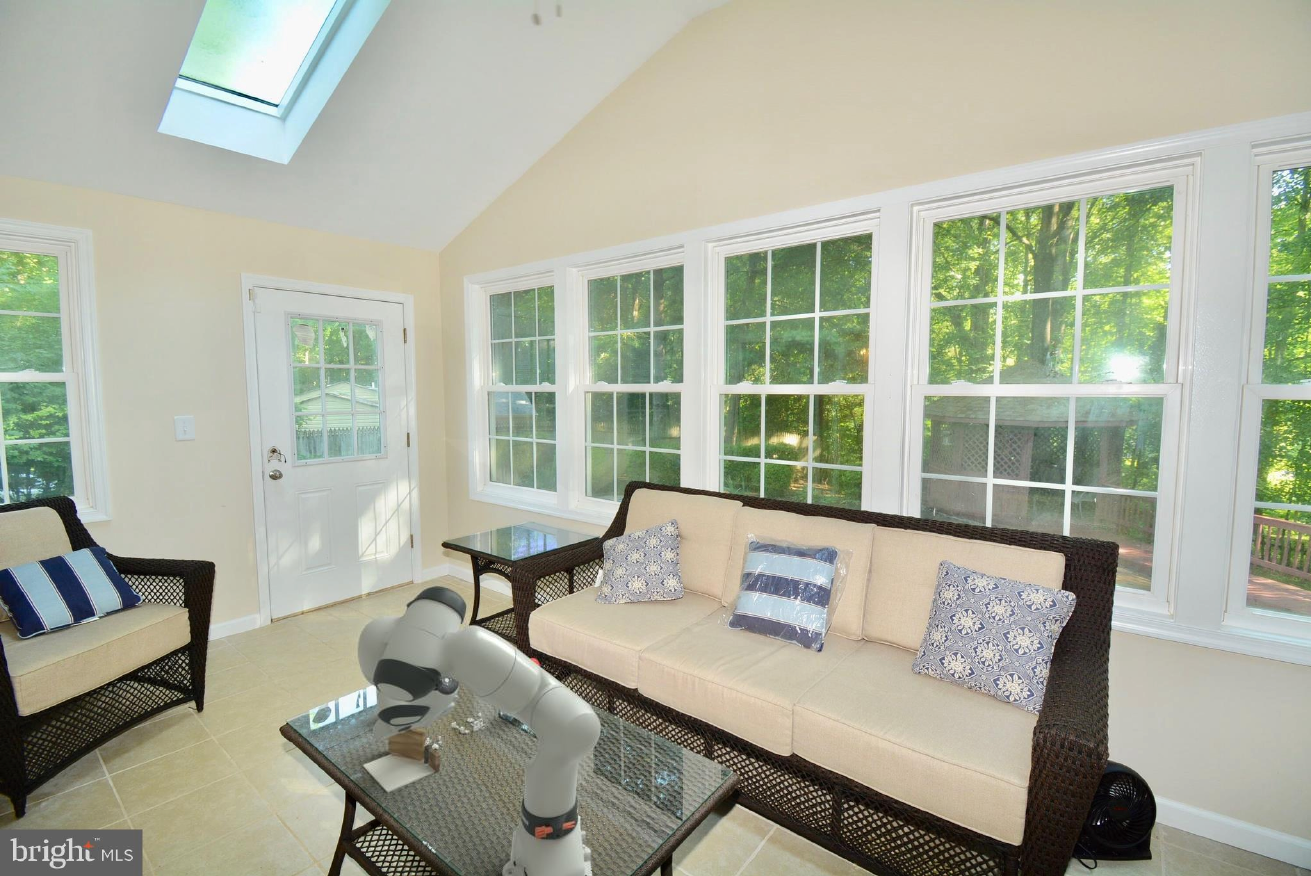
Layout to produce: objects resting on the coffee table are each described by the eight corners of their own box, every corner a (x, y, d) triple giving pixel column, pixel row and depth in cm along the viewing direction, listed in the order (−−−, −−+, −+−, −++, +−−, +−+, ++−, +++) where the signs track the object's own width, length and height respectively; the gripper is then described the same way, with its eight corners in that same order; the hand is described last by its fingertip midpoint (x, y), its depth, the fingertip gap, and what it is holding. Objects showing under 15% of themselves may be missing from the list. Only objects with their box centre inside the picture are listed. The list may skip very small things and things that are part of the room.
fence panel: (421, 760, 160) (422, 733, 160) (387, 750, 164) (388, 723, 163) (425, 757, 162) (426, 730, 161) (391, 747, 165) (392, 721, 165)
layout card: (440, 769, 158) (440, 767, 158) (387, 792, 147) (387, 790, 147) (413, 746, 168) (414, 744, 168) (363, 766, 157) (363, 764, 157)
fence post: (441, 770, 158) (441, 753, 157) (434, 773, 156) (434, 756, 156) (429, 759, 162) (430, 743, 162) (422, 762, 160) (423, 746, 160)
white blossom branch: (405, 747, 166) (405, 742, 166) (478, 715, 186) (478, 710, 186) (420, 757, 162) (420, 752, 162) (493, 723, 182) (493, 718, 182)
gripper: (457, 683, 160) (439, 704, 167) (380, 709, 145) (364, 731, 152) (465, 705, 157) (446, 726, 165) (388, 734, 142) (370, 755, 150)
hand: (406, 728), depth 158 cm, fingers closed
